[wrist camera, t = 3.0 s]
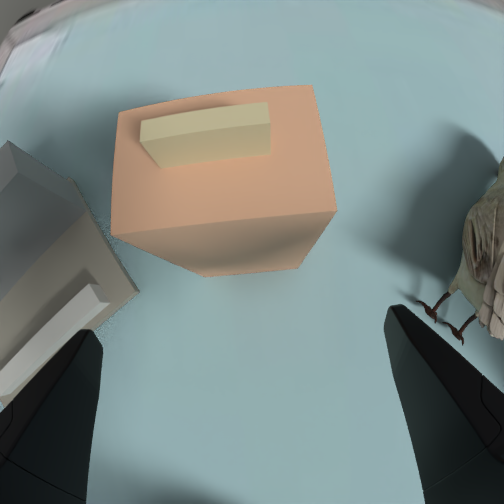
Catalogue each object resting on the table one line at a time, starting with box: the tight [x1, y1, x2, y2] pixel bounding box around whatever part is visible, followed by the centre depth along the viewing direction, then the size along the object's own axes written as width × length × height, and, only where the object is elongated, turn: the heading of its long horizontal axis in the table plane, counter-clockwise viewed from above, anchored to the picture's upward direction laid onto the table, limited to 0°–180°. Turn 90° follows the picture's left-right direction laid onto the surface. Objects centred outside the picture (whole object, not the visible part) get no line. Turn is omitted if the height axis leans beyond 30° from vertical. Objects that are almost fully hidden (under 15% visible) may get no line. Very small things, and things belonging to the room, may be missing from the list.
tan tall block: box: [111, 85, 337, 277], centre depth 14 cm, size 4×6×15 cm, turn 95°
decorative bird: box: [416, 157, 504, 346], centre depth 17 cm, size 5×16×8 cm, turn 144°
